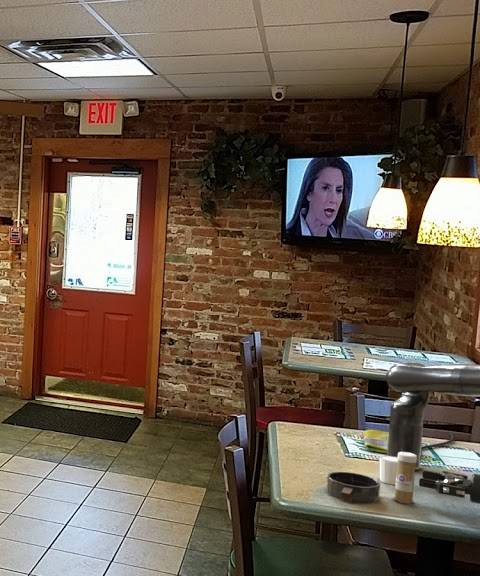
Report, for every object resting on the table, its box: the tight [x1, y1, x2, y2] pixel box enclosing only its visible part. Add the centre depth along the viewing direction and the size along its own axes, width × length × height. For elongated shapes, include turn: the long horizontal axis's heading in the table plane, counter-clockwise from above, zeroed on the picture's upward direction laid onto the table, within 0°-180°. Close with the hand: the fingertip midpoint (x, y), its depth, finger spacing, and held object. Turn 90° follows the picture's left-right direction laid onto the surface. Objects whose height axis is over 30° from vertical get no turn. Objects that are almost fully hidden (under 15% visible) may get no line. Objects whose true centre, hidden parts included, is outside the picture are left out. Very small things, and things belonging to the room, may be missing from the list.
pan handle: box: [340, 487, 354, 504], centre depth 208 cm, size 6×2×4 cm, turn 144°
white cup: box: [379, 455, 398, 486], centre depth 229 cm, size 7×7×7 cm
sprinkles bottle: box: [393, 452, 417, 505], centre depth 212 cm, size 5×5×14 cm
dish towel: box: [363, 429, 389, 454], centre depth 267 cm, size 18×24×3 cm
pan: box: [325, 471, 381, 504], centre depth 216 cm, size 13×13×4 cm
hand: (421, 477), depth 209 cm, fingers open, 8 cm apart
